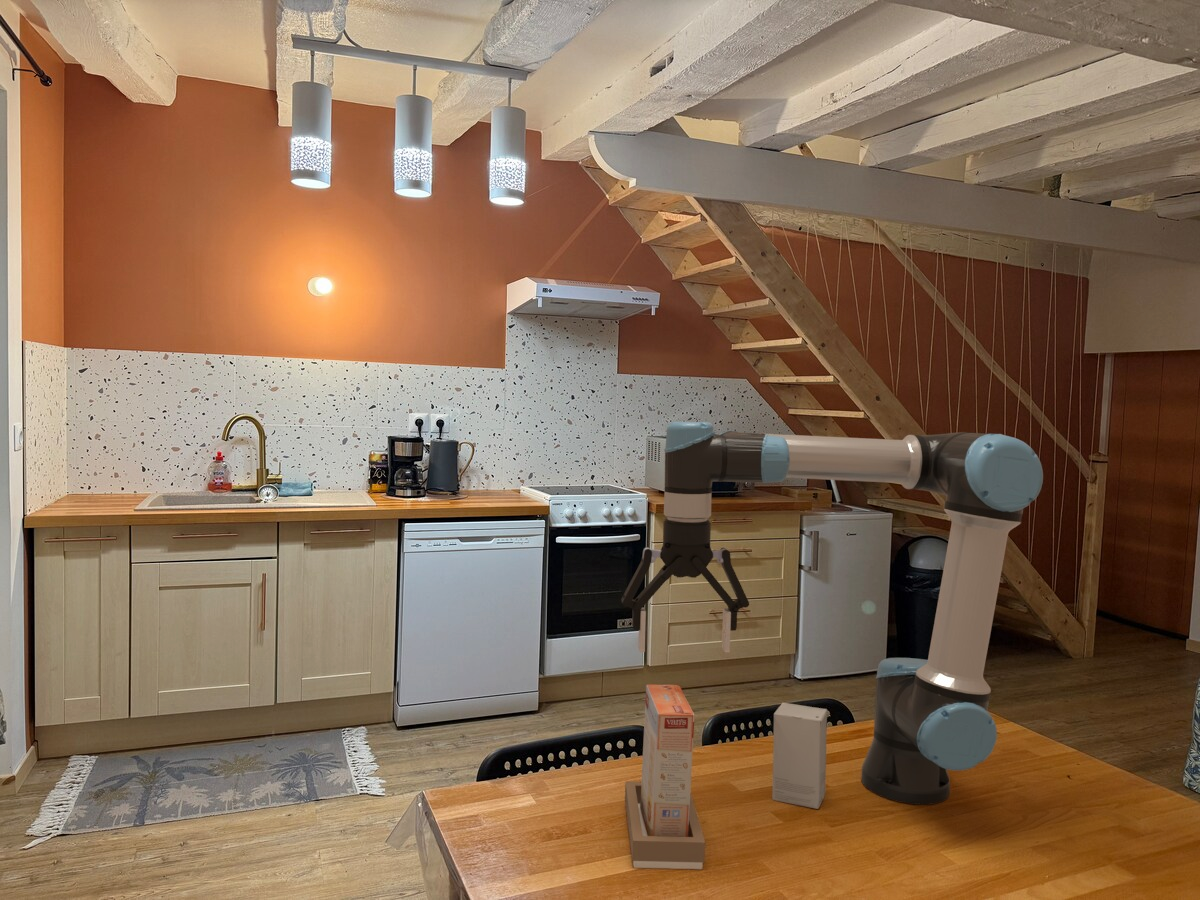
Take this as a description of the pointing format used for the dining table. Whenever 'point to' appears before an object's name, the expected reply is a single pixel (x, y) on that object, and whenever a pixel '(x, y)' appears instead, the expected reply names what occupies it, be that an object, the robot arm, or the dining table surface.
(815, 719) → the skincare box
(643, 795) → the cracker box
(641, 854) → the tray
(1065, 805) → the dining table surface
